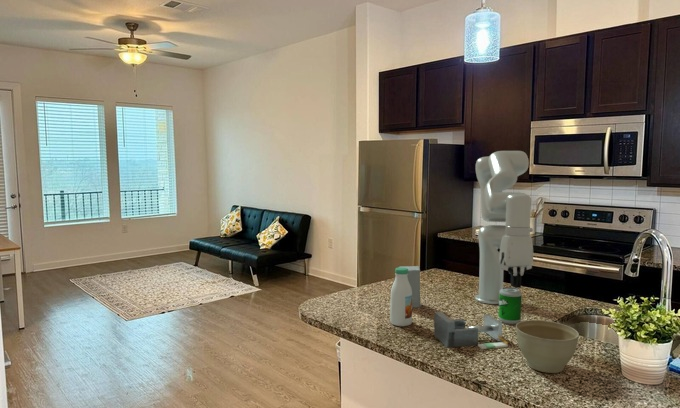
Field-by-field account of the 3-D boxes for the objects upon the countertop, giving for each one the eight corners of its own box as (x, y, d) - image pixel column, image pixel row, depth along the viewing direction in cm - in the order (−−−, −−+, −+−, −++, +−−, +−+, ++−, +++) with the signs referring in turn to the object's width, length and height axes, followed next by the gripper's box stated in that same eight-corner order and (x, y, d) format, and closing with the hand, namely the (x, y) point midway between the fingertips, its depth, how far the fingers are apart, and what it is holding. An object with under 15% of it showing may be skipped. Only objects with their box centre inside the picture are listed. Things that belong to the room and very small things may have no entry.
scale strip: (503, 343, 146) (503, 341, 146) (508, 346, 143) (508, 344, 143) (477, 346, 144) (477, 344, 144) (481, 349, 142) (481, 347, 142)
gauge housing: (462, 333, 155) (463, 310, 154) (477, 344, 145) (478, 320, 144) (434, 335, 153) (434, 312, 152) (447, 347, 143) (447, 322, 142)
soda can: (520, 319, 169) (521, 287, 167) (521, 326, 161) (522, 293, 160) (498, 317, 171) (499, 285, 170) (498, 323, 164) (499, 291, 163)
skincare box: (419, 303, 188) (419, 265, 186) (420, 309, 181) (421, 269, 179) (398, 302, 188) (398, 265, 187) (399, 308, 181) (399, 269, 180)
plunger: (487, 330, 156) (487, 313, 156) (508, 346, 143) (509, 327, 143) (462, 333, 154) (462, 315, 154) (482, 348, 141) (482, 329, 141)
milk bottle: (398, 328, 160) (398, 271, 158) (386, 321, 167) (386, 267, 165) (416, 324, 163) (417, 269, 161) (403, 318, 170) (404, 265, 168)
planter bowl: (590, 375, 124) (592, 336, 123) (541, 383, 120) (542, 343, 119) (548, 351, 140) (549, 317, 139) (502, 358, 135) (504, 322, 134)
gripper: (530, 229, 155) (528, 283, 157) (490, 230, 152) (489, 285, 153) (545, 232, 148) (543, 288, 149) (503, 234, 145) (501, 291, 146)
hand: (515, 286), depth 151 cm, fingers closed
